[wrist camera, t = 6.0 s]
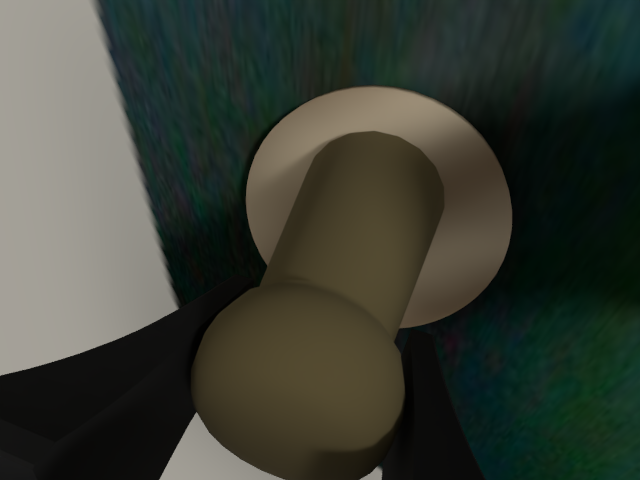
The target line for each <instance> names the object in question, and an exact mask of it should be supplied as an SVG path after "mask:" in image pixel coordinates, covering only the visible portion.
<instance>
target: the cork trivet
mask: <svg viewBox="0 0 640 480" xmlns="http://www.w3.org/2000/svg"><path fill="white" fill-rule="evenodd" d="M365 131H378V132H382V133H386V134H391V135H395V136H399V137H401V138H402V139H404V140H406V141H407V142H409V143H411V144H413V145H414V146H416V147H418V148H420V149H421V151H422V152H423V153H424V154H425V155H426V156H427V157H428V158H429V160H430V161H431V162H432V163H433V164H434V165H435V166H436V168H437V171H438V173H439V176H440V178H441V181H442V183H443V185H444V203H445V208H444V211H443V214H442V216H441V219H440V222H439V224H438V227H437V230H436V232H435V235H434V238H433V240H432V243H431V246H430V248H429V251H428V253H427V256H426V259H425V261H424V264H423V267H422V269H421V272H420V275H419V277H418V280H417V282H416V285H415V288H414V290H413V293H412V296H411V298H410V301H409V304H408V306H407V309H406V312H405V314H404V317H403V319H402V322H401V325H400V327H399V328H408V327H413V326H419V325H424V324H427V323H430V322H434V321H437V320H439V319H442V318H444V317H446V316H449V315H451V314H453V313H454V312H456V311H458V310H460V309H461V308H463V307H465V306H466V305H467V304H468V303H470V302H471V301H472V300H474V299H475V298H476V297H477V296H478V295H479V294H480V293H481V292H482V291H483V290H484V289H485V288H486V287H487V286H488V285H489V283H490V282H491V280H492V279H493V278H494V276H495V275H496V274H497V272H498V270H499V268H500V266H501V264H502V262H503V260H504V258H505V255H506V252H507V249H508V246H509V242H510V236H511V230H512V206H511V200H510V194H509V189H508V186H507V183H506V180H505V176H504V173H503V170H502V167H501V165H500V163H499V161H498V159H497V157H496V155H495V154H494V152H493V150H492V148H491V147H490V146H489V144H488V143H487V142H486V140H485V139H484V137H483V136H482V135H481V134H480V133H479V132H478V131H477V130H476V129H475V127H474V126H473V125H472V124H471V123H470V122H469V121H468V120H466V119H465V118H464V117H462V116H461V115H460V114H458V113H457V112H456V111H454V110H453V109H452V108H450V107H448V106H446V105H445V104H443V103H441V102H439V101H438V100H436V99H434V98H431V97H429V96H426V95H424V94H421V93H418V92H416V91H412V90H408V89H403V88H399V87H394V86H383V85H362V86H352V87H347V88H342V89H337V90H334V91H331V92H328V93H325V94H323V95H320V96H318V97H316V98H314V99H312V100H310V101H308V102H306V103H304V104H303V105H301V106H300V107H298V108H297V109H296V110H294V111H293V112H291V113H290V114H289V115H287V116H286V117H284V118H283V119H282V120H281V121H280V122H279V123H278V124H277V125H276V126H275V127H274V128H273V129H272V130H271V132H270V133H269V134H268V136H267V137H266V138H265V140H264V141H263V142H262V144H261V146H260V148H259V150H258V151H257V153H256V155H255V157H254V160H253V163H252V166H251V168H250V172H249V177H248V182H247V190H246V208H247V217H248V222H249V227H250V230H251V233H252V236H253V239H254V242H255V244H256V246H257V248H258V250H259V252H260V254H261V256H262V258H263V259H264V261H265V263H266V264H267V266H268V264H269V262H270V260H271V257H272V255H273V252H274V250H275V248H276V245H277V243H278V240H279V238H280V236H281V233H282V231H283V228H284V226H285V224H286V221H287V219H288V216H289V214H290V212H291V209H292V207H293V204H294V202H295V200H296V197H297V195H298V192H299V190H300V188H301V185H302V183H303V180H304V178H305V176H306V173H307V171H308V169H309V167H310V165H311V163H312V161H313V159H314V157H315V155H316V154H317V153H318V152H320V151H321V150H322V149H323V148H324V147H325V146H326V145H327V144H328V143H329V142H330V141H333V140H335V139H337V138H340V137H342V136H344V135H346V134H349V133H354V132H365Z"/></svg>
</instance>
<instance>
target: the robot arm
mask: <svg viewBox="0 0 640 480" xmlns="http://www.w3.org/2000/svg"><path fill="white" fill-rule="evenodd" d="M252 288H253V279H250V278H247V277H244V276H240V275H237V274H236V275H234V276H232V277H230V278H229V279H227V280H226V281H224V282H222V283H221V284H219V285H218V286H216V287H215V288H213V289H211V290H210V291H208V292H207V293H205V294H203V295H202V296H200V297H198V298H197V299H195V300H193V301H192V302H190V303H188V304H187V305H185V306H183V307H182V308H180V309H178V310H176V311H175V312H173V313H171V314H169V315H167V316H165V317H163V318H161V319H160V320H158V321H156V322H154V323H152V324H150V325H148V326H146V327H144V328H142V329H140V330H138V331H136V332H133V333H131V334H129V335H126V336H124V337H122V338H119V339H117V340H115V341H112V342H109V343H107V344H104V345H102V346H99V347H96V348H93V349H91V350H88V351H85V352H83V353H80V354H77V355H74V356H70V357H67V358H65V359H61V360H58V361H54V362H51V363H48V364H44V365H41V366H38V367H34V368H30V369H26V370H22V371H18V372H14V373H9V374H5V375H1V376H0V480H159V479H160V477H161V475H162V473H163V471H164V469H165V467H166V466H167V464H168V462H169V460H170V458H171V456H172V454H173V452H174V450H175V449H176V447H177V445H178V443H179V441H180V440H181V438H182V436H183V434H184V432H185V430H186V428H187V427H188V425H189V423H190V421H191V420H192V418H193V417H194V415H195V413H196V412H197V411H196V410H195V408H194V407H193V401H192V395H191V367H192V365H193V362H194V359H195V356H196V354H197V351H198V348H199V346H200V343H201V341H202V338H203V336H204V333H205V331H206V330H207V329H208V327H209V326H210V324H211V323H212V322H213V320H214V319H215V317H216V316H217V315H218V314H219V313H220V312H221V311H222V310H224V309H225V308H226V307H227V306H228V305H230V304H231V303H232V302H233V301H235V300H236V299H237V298H239V297H240V296H241V295H243V294H244V293H245V292H247V291H248V290H250V289H252ZM401 362H402V369H403V377H404V385H405V393H406V400H405V408H404V416H403V421H402V423H401V426H400V428H399V430H398V432H397V435H396V437H395V439H394V441H393V444H392V446H391V448H390V450H389V452H388V454H387V456H386V458H385V459H384V460H383V472H382V480H486V479H485V477H484V475H483V473H482V472H481V470H480V467H479V465H478V463H477V461H476V459H475V457H474V455H473V453H472V451H471V448H470V446H469V444H468V442H467V439H466V437H465V435H464V432H463V430H462V427H461V425H460V422H459V420H458V417H457V414H456V412H455V409H454V406H453V404H452V401H451V398H450V395H449V392H448V389H447V386H446V383H445V379H444V376H443V373H442V369H441V365H440V362H439V358H438V354H437V349H436V344H435V339H434V337H433V336H432V335H430V334H427V333H424V332H421V331H418V330H414V329H412V330H411V332H410V335H409V337H408V340H407V343H406V345H405V348H404V351H403V353H402V356H401Z"/></svg>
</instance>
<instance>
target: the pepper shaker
mask: <svg viewBox="0 0 640 480" xmlns="http://www.w3.org/2000/svg"><path fill="white" fill-rule="evenodd" d="M444 208H445V203H444V185H443V183H442V181H441V178H440V176H439V173H438V171H437V168H436V166H435V165H434V164H433V163H432V162H431V161H430V160H429V158H428V157H427V156H426V155H425V154H424V153H423V152H422V151H421V149H420V148H418V147H416V146H414V145H413V144H411V143H409V142H407V141H406V140H404V139H402V138H401V137H399V136H395V135H391V134H386V133H382V132H378V131H365V132H354V133H349V134H346V135H344V136H342V137H340V138H337V139H335V140H333V141H330V142H329V143H328V144H327V145H326V146H325V147H324V148H323V149H322V150H321V151H320V152H318V153H317V154H316V155H315V157H314V159H313V161H312V163H311V165H310V167H309V169H308V171H307V173H306V176H305V178H304V180H303V183H302V185H301V188H300V190H299V192H298V195H297V197H296V200H295V202H294V204H293V207H292V209H291V212H290V214H289V216H288V219H287V221H286V224H285V226H284V228H283V231H282V233H281V236H280V238H279V240H278V243H277V245H276V248H275V250H274V252H273V255H272V257H271V260H270V262H269V264H268V267H267V269H266V272H265V274H264V276H263V279H262V281H261V283H260V286H259V287H256V288H252V289H250V290H248V291H247V292H245V293H244V294H243V295H241V296H240V297H239V298H237V299H236V300H235V301H233V302H232V303H231V304H230V305H228V306H227V307H226V308H225V309H224V310H222V311H221V312H220V313H219V314H218V315H217V316H216V317H215V319H214V320H213V322H212V323H211V324H210V326H209V327H208V329H207V330H206V331H205V333H204V336H203V338H202V341H201V343H200V346H199V348H198V351H197V354H196V356H195V359H194V362H193V365H192V367H191V395H192V401H193V407H194V408H195V410H196V411H197V413H198V415H199V416H200V418H201V420H202V421H203V423H204V425H205V426H206V428H207V429H208V431H209V433H210V434H211V435H212V436H213V437H214V438H216V440H217V441H218V442H219V443H220V444H221V445H222V446H223V447H225V448H226V449H228V450H229V451H230V452H232V453H233V454H234V455H236V456H237V457H239V458H240V459H241V460H243V461H245V462H247V463H249V464H251V465H253V466H254V467H256V468H258V469H260V470H262V471H264V472H267V473H269V474H272V475H274V476H277V477H279V478H282V479H285V480H359V479H361V478H363V477H365V476H366V475H368V474H370V473H371V472H372V471H373V470H374V469H375V468H376V467H377V466H378V465H379V464H380V463H381V462H382V461H383V460H384V459H385V458H386V456H387V454H388V452H389V450H390V448H391V446H392V444H393V441H394V439H395V437H396V435H397V432H398V430H399V428H400V426H401V423H402V421H403V416H404V408H405V400H406V393H405V385H404V377H403V369H402V362H401V354H400V352H399V351H398V349H397V347H396V345H395V344H394V341H395V338H396V335H397V333H398V330H399V327H400V325H401V322H402V319H403V317H404V314H405V312H406V309H407V306H408V304H409V301H410V298H411V296H412V293H413V290H414V288H415V285H416V282H417V280H418V277H419V275H420V272H421V269H422V267H423V264H424V261H425V259H426V256H427V253H428V251H429V248H430V246H431V243H432V240H433V238H434V235H435V232H436V230H437V227H438V224H439V222H440V219H441V216H442V214H443V211H444Z"/></svg>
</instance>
